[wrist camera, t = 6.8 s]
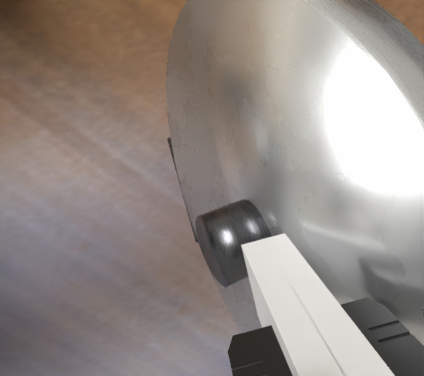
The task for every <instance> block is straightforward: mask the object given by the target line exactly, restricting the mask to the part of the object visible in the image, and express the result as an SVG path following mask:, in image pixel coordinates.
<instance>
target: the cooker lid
mask: <svg viewBox="0 0 424 376" xmlns="http://www.w3.org/2000/svg"><path fill="white" fill-rule="evenodd" d="M166 89H167V110H168V122H169V129H170V137H169V138H168V139H167V140H168V143H169V147H170V151H171V154H172V158H173V162H174V165H175V169H176V172H177V176H178V180H179V183H180V187H181V191H182V194H183V198H184V201H185V205H186V209H187V212H188V216H189V220H190V223H191V227H192V230H193V234H194V238H195V241H196V242H198V243H199V245H200V248H201V250H202V253H203V256H204V258H205V260H206V262H207V265H208V267H209V269H210V271H211V274H212V276H213V278H214V280H215V283H216V285H217V287H218V289H219V291H220V293H221V295H222V297H223V299H224V302H225V303H226V305H227V307H228V309H229V311H230V313H231V315H232V317H233V319H234V321H235V323H236V324H237V326H238V328H239V330H240V331H241V333H245V332H248V331H252V330H255V329H259V328H262V325H261V323H260V320H259V317H258V314H257V310H256V305H255V301H254V297H253V293H252V289H251V285H250V280H249V276H248V272H247V268H246V264H245V259H244V255H243V251H242V247H241V245H243V244H246V243H250V242H254V241H258V240H261V239H265V238H269V237H273V236H276V235H280V234H284V233H285V234H286V236H287V237H288V238H289V239H290V241H291V242H292V243H293V245H294V246H295V247H296V248H297V250H298V251H299V252H300V254H301V255H302V256H303V258H304V259H305V260H306V261H307V263H308V264H309V265H310V267H311V268H312V269H313V270H314V272H315V273H316V274H317V276H318V277H319V278H320V279H321V281H322V282H323V283H324V285H325V286H326V287H327V289H328V290H329V291H330V292H331V294H332V295H333V296H334V298H335V299H336V300H337V301H338V303H339V304H340V305H341V304H344V303H348V302H352V301H355V300H359V299H363V298H366V297H367V298H369V299H371V300H373V301H375V302H377V303H379V304H381V305H383V306H385V307H386V308H387V309H388V310H389V311H390V312H391V313H392V314H393V315H394V316H395V317H396V318H397V319H398V320H399V322H400V323H402V324H403V325H404V326H405V327H406V328H407V329H408V330H409V331H410V334H413V335H414V336H415V337H416V338H417V339H418V340H419V341H420V343H421V344H422V345H423V346H424V46H423V45H422V44H421V42H420V41H419V40H418V39H417V38H416V37H415V36H414V35H413V34H412V33H411V32H410V31H409V30H408V29H407V28H406V27H405V26H404V25H403V24H402V23H401V22H400V21H399V20H398V19H397V18H396V17H394V16H393V15H392V14H390V13H389V12H388V11H386V10H385V9H384V8H382V7H381V6H380V5H379V4H377V3H376V2H375V1H373V0H187V1H186V3H185V5H184V7H183V8H182V10H181V12H180V14H179V16H178V19H177V21H176V24H175V27H174V30H173V34H172V38H171V42H170V47H169V54H168V62H167V80H166Z"/></svg>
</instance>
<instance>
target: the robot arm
mask: <svg viewBox="0 0 424 376" xmlns="http://www.w3.org/2000/svg"><path fill="white" fill-rule="evenodd" d="M241 247H242V251H243V255H244V259H245V264H246V268H247V272H248V276H249V280H250V285H251V289H252V293H253V297H254V301H255V305H256V310H257V314H258V317H259V320H260V323H261V325H262V328H259V329H255V330H252V331H248V332H245V333H241V334H237V335H234V336H233V337H232V341H231V344H230V347H229V350H228V354H229V359H230V363H231V368H232V373H233V376H424V346H423V345H422V344H421V343H420V341H419V340H418V339H417V338H416V337H415V336H414V335H413V334H410V331H409V330H408V329H407V328H406V327H405V326H404V325H403V324H402V323H400V322H399V320H398V319H397V318H396V317H395V316H394V315H393V314H392V313H391V312H390V311H389V310H388V309H387V308H386V307H385V306H383V305H381V304H379V303H377V302H375V301H373V300H371V299H369V298H367V297H366V298H363V299H359V300H355V301H352V302H348V303H344V304H341V305H340V304H339V303H338V301H337V300H336V299H335V298H334V296H333V295H332V294H331V292H330V291H329V290H328V289H327V287H326V286H325V285H324V283H323V282H322V281H321V279H320V278H319V277H318V276H317V274H316V273H315V272H314V270H313V269H312V268H311V267H310V265H309V264H308V263H307V261H306V260H305V259H304V258H303V256H302V255H301V254H300V252H299V251H298V250H297V248H296V247H295V246H294V245H293V243H292V242H291V241H290V239H289V238H288V237H287V236H286V234H285V233H284V234H280V235H276V236H273V237H269V238H265V239H261V240H258V241H254V242H250V243H246V244H243V245H241Z"/></svg>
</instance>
